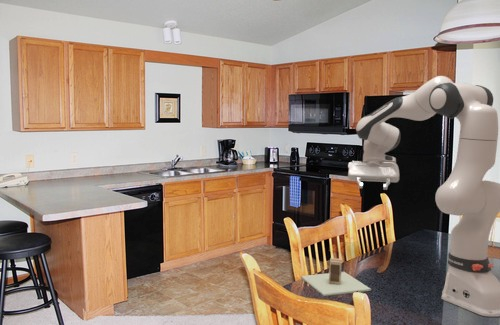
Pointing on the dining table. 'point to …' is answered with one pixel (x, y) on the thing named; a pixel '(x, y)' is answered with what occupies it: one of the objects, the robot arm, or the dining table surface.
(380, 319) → the dining table surface
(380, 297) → the dining table surface
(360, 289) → the sage mat
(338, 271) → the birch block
